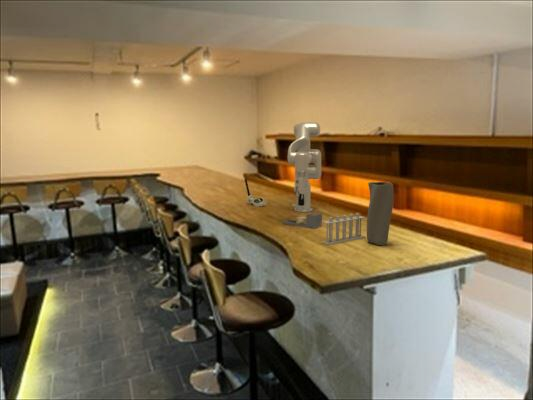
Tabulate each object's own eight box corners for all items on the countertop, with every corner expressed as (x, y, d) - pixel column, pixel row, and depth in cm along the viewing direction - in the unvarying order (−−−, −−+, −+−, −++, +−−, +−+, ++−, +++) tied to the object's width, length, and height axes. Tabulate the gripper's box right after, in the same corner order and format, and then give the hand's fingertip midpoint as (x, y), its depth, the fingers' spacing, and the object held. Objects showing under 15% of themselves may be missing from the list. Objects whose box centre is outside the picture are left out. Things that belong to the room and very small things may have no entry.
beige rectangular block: (296, 225, 244) (296, 217, 243) (299, 224, 246) (299, 216, 246) (313, 228, 236) (313, 219, 235) (316, 227, 239) (316, 218, 238)
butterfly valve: (269, 205, 305) (254, 200, 318) (264, 181, 297) (249, 176, 309) (260, 210, 301) (245, 205, 313) (255, 185, 292) (240, 181, 304)
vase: (384, 239, 211) (386, 181, 206) (395, 245, 199) (398, 184, 194) (361, 240, 209) (363, 182, 204) (371, 247, 197) (374, 185, 192)
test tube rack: (327, 245, 202) (328, 218, 199) (322, 243, 205) (322, 217, 203) (365, 237, 214) (365, 213, 212) (359, 236, 218) (359, 211, 216)
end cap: (306, 227, 237) (306, 214, 236) (312, 224, 244) (312, 212, 242) (315, 228, 234) (315, 216, 233) (321, 226, 240) (321, 213, 239)
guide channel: (282, 224, 246) (282, 221, 246) (287, 221, 252) (287, 219, 251) (307, 227, 238) (307, 224, 237) (311, 225, 243) (311, 222, 243)
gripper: (301, 175, 230) (300, 208, 233) (312, 173, 242) (312, 204, 245) (289, 175, 234) (289, 206, 237) (301, 172, 246) (301, 203, 249)
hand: (301, 205), depth 241 cm, fingers closed
